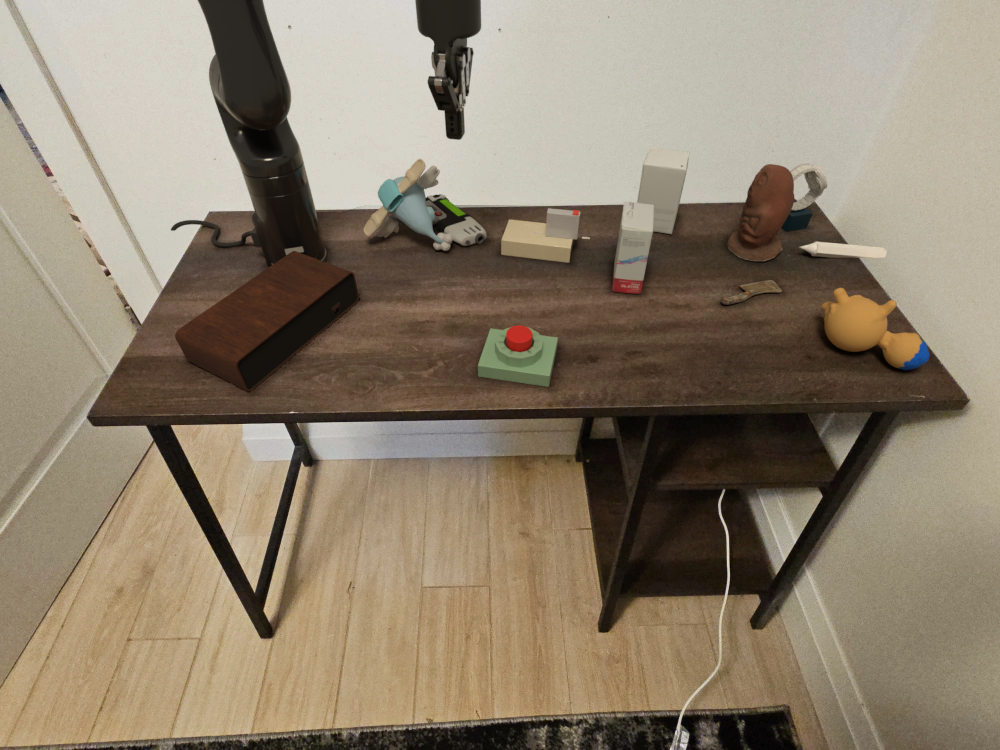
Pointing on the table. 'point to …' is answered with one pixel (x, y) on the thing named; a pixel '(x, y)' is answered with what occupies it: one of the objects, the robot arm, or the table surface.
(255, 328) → the alarm clock
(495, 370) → the button box
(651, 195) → the white packaging box
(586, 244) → the table surface
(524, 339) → the stop button
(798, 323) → the table surface
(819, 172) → the watch
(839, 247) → the white pointed rod
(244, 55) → the robot arm
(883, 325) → the toy
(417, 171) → the toy figure
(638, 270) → the ink box
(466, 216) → the toy gun
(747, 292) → the meat cleaver
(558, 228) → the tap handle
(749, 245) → the figurine
